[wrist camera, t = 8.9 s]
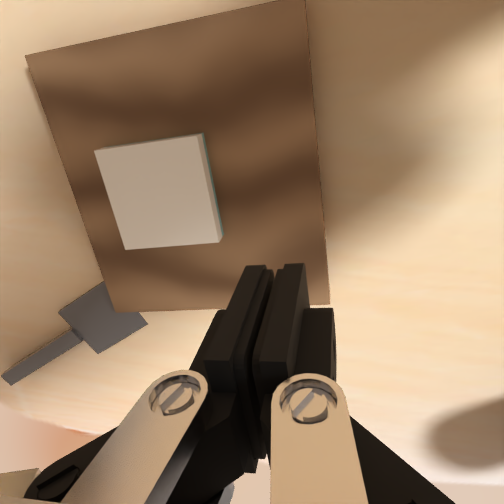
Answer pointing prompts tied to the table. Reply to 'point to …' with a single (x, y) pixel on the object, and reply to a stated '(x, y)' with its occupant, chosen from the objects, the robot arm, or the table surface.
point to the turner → (82, 331)
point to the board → (217, 143)
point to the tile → (162, 192)
